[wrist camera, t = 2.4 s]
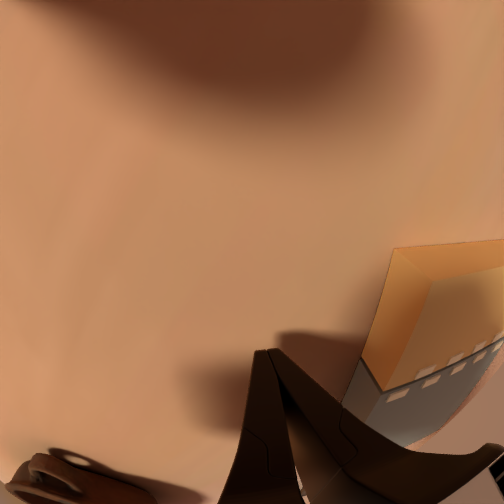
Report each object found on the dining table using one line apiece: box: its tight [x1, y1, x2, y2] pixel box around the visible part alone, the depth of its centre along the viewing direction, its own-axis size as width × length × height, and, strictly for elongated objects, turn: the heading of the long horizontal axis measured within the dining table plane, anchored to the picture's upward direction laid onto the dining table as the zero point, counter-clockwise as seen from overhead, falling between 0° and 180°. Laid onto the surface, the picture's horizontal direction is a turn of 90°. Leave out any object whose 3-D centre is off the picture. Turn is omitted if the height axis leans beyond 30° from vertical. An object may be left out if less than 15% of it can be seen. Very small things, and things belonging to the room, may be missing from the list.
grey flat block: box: [341, 336, 504, 448], centre depth 16 cm, size 12×12×3 cm
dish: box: [5, 453, 158, 504], centre depth 16 cm, size 17×22×5 cm
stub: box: [361, 240, 504, 391], centre depth 12 cm, size 6×12×3 cm, turn 89°
